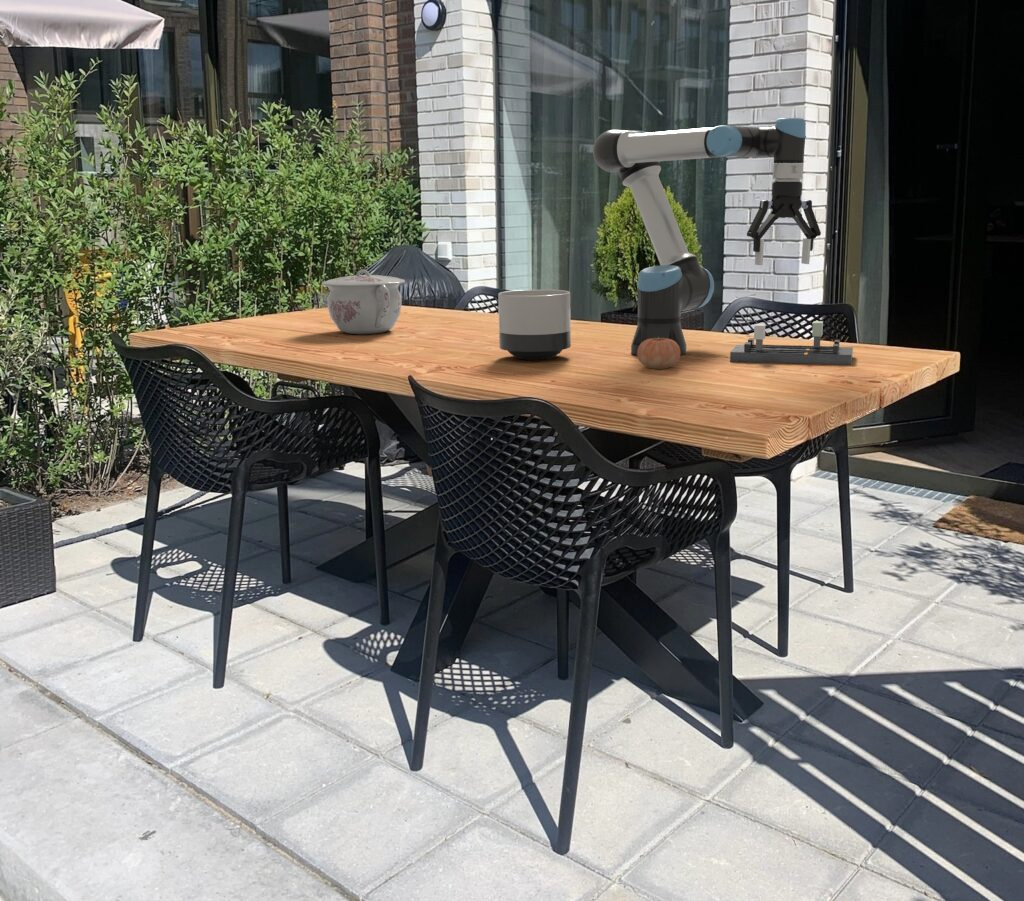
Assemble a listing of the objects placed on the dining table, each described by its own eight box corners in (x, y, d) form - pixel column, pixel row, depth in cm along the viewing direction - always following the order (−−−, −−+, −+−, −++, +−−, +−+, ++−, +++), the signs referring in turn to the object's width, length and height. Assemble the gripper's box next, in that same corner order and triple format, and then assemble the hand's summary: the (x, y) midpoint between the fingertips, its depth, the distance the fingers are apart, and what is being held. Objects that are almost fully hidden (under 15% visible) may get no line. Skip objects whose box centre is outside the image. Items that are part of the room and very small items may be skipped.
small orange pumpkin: (669, 372, 265) (670, 340, 264) (629, 369, 271) (630, 338, 269) (687, 366, 274) (687, 335, 272) (648, 363, 280) (648, 333, 278)
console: (729, 362, 278) (729, 345, 277) (736, 353, 293) (737, 337, 292) (850, 366, 269) (851, 348, 268) (852, 356, 284) (853, 339, 283)
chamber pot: (338, 327, 374) (334, 266, 370) (415, 326, 370) (413, 265, 366) (312, 337, 347) (308, 272, 343) (396, 337, 343) (393, 271, 339)
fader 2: (811, 347, 282) (812, 322, 280) (812, 345, 286) (813, 321, 284) (821, 348, 281) (822, 323, 280) (821, 345, 285) (823, 321, 283)
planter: (579, 354, 299) (578, 289, 295) (559, 364, 282) (558, 296, 278) (513, 352, 306) (511, 289, 302) (489, 362, 288) (487, 295, 284)
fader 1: (753, 350, 279) (754, 325, 277) (755, 348, 282) (756, 323, 281) (763, 351, 278) (763, 325, 277) (764, 348, 282) (765, 323, 280)
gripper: (750, 180, 271) (745, 266, 276) (838, 180, 278) (832, 264, 283) (736, 180, 278) (732, 264, 283) (822, 180, 285) (816, 262, 290)
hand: (782, 264), depth 283 cm, fingers open, 13 cm apart
